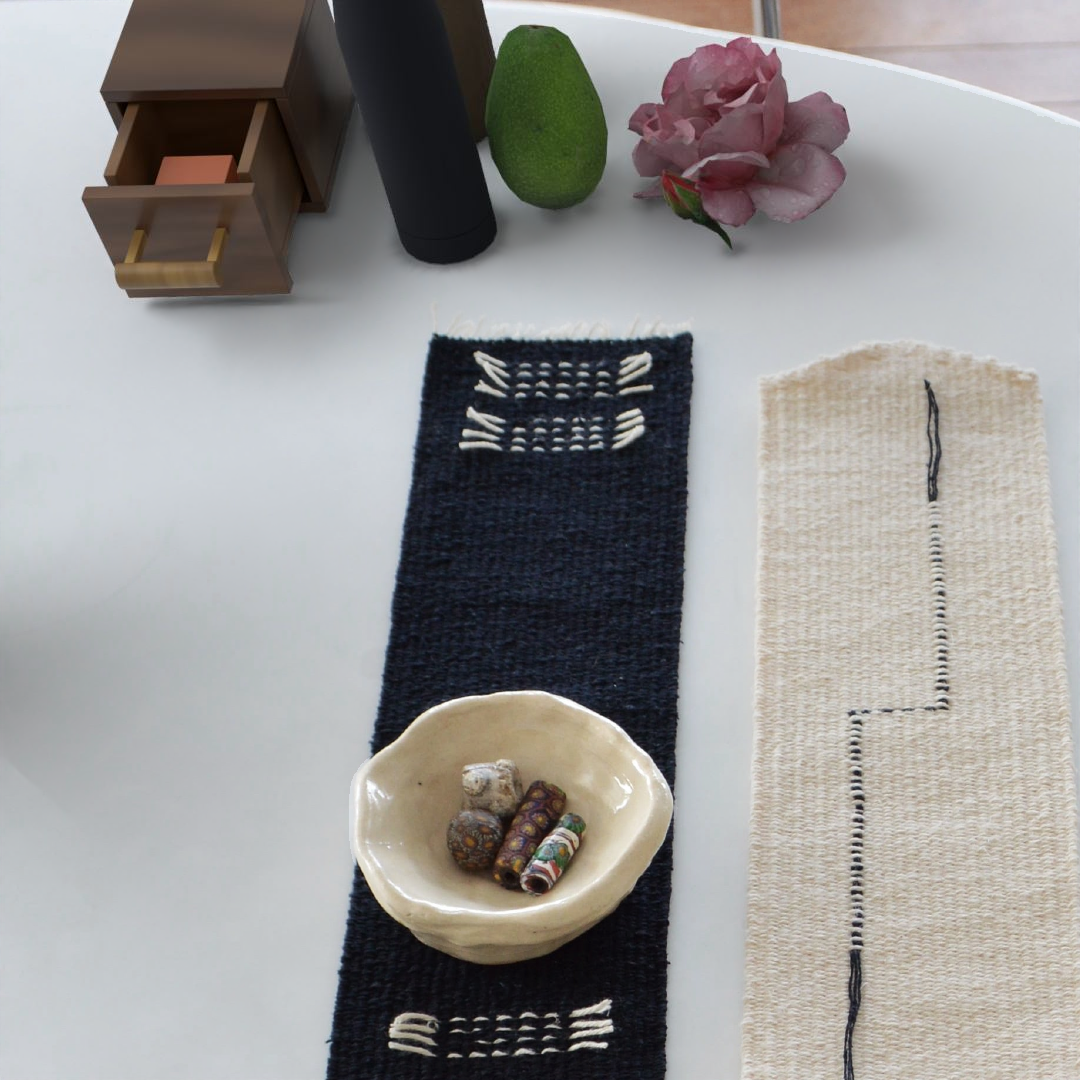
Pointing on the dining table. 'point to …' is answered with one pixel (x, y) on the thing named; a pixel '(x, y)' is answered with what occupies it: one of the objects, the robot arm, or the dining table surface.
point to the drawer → (199, 201)
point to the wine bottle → (417, 125)
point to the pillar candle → (471, 55)
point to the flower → (738, 140)
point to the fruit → (545, 119)
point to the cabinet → (242, 70)
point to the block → (198, 170)
